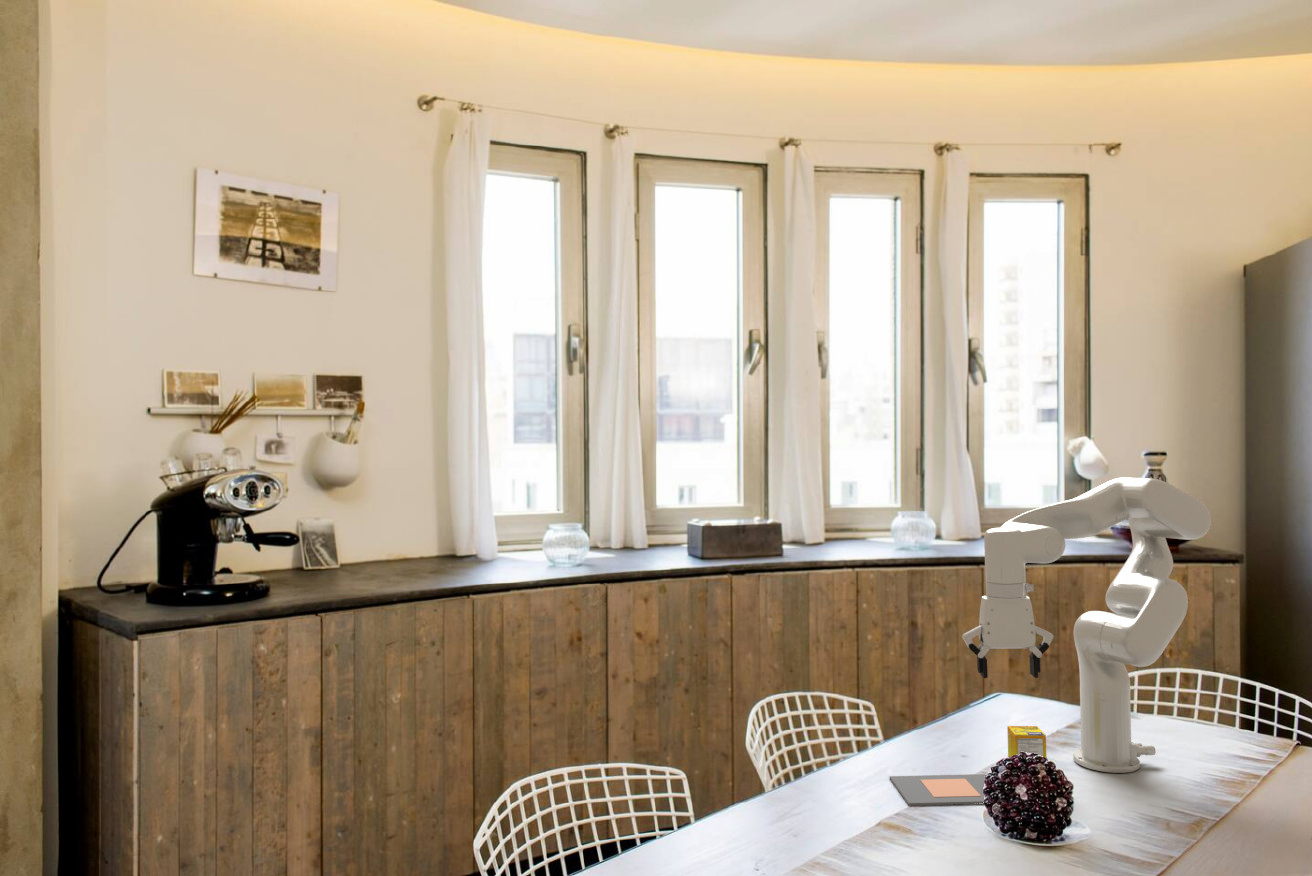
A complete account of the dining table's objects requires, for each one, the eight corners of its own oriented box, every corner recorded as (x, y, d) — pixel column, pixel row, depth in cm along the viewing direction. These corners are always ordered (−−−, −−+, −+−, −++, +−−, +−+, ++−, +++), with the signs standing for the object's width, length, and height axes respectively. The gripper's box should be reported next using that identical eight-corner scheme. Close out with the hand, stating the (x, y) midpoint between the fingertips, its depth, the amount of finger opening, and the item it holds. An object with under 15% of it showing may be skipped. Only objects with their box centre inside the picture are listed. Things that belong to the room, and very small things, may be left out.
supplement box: (1038, 779, 188) (1037, 725, 188) (1048, 791, 182) (1046, 734, 182) (1007, 779, 188) (1006, 724, 188) (1016, 790, 182) (1015, 734, 182)
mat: (988, 776, 190) (987, 773, 190) (1015, 803, 176) (1014, 800, 176) (889, 778, 190) (889, 775, 190) (908, 805, 176) (908, 802, 176)
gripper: (1045, 586, 189) (1048, 671, 189) (957, 588, 191) (960, 671, 191) (1057, 593, 182) (1060, 681, 182) (965, 594, 183) (968, 681, 184)
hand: (1008, 676), depth 186 cm, fingers open, 9 cm apart
